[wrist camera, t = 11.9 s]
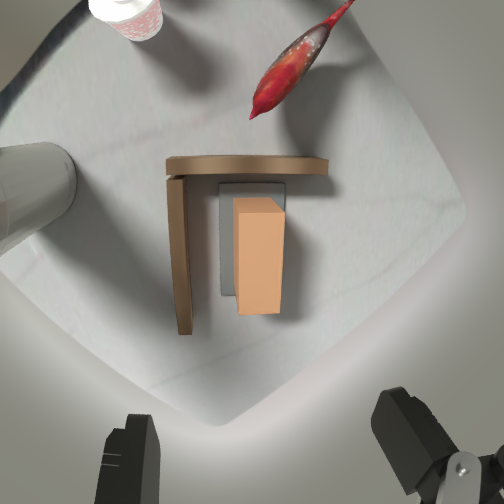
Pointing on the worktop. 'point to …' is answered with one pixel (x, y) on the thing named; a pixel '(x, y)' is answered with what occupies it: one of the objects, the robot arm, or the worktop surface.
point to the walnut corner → (179, 209)
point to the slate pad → (226, 221)
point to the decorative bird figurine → (292, 65)
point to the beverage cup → (130, 16)
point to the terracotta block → (258, 255)
